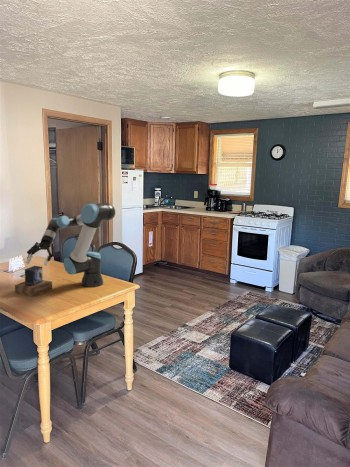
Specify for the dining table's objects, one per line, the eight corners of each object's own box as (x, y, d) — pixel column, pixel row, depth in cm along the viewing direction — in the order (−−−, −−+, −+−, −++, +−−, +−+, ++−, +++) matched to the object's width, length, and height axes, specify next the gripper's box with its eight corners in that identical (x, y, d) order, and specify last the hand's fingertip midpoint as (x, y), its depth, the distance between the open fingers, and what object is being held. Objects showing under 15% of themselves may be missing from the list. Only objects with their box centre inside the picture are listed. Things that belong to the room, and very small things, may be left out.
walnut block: (52, 290, 229) (52, 281, 228) (35, 297, 214) (34, 288, 213) (33, 286, 235) (32, 278, 234) (15, 294, 220) (14, 285, 219)
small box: (33, 286, 218) (33, 270, 216) (24, 285, 219) (24, 269, 217) (43, 281, 228) (42, 266, 226) (34, 280, 229) (34, 265, 227)
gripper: (66, 241, 238) (55, 268, 226) (35, 239, 243) (22, 265, 232) (62, 235, 232) (50, 262, 220) (30, 233, 237) (16, 259, 226)
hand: (36, 264), depth 226 cm, fingers open, 13 cm apart
